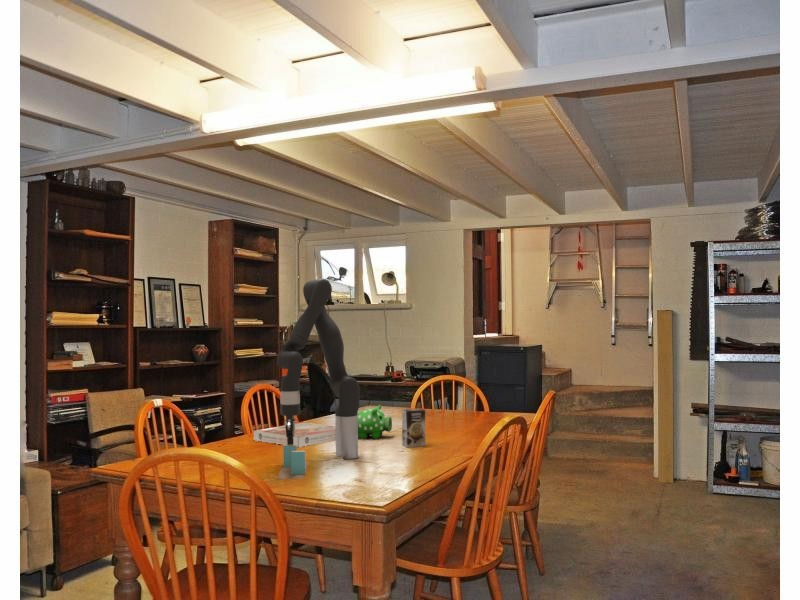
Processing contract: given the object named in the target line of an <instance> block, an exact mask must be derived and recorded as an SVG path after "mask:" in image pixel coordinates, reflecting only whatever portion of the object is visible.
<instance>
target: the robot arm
mask: <svg viewBox="0 0 800 600" xmlns="http://www.w3.org/2000/svg"><path fill="white" fill-rule="evenodd" d="M302 291H303V292H302V293H303V297H304V299H305V302H306V305H307V307H306V309H305V310H304V311H303V313H302V314H301V315H300V317H299V318H298V319H297V320H296V323H295V324H294V326H293V328H292V331H291V332H290V335H289V339H287V341H286V342H285V344H284V345H283V346H282V348H281V350H280V351H279V353H278V355H277V359H276V362H277V365H278V367H279V368H280V369H283V370H287V371H286V372H287V373H286V375H283V376H282V377H281V379H280V380H281V381H280V398H279V399H280V415H281V416H283V417H286V419H285V420H284V426H285V428H286V437H287V445H293V437H294V434H295V433H294V431H295V424H297V419H295V416H298V415H299V416H300V415H301V395H300V379H301V375H302V371H303V365H304V359H303V356H302V354H301V353H300V352H298V351H300V350H302V349H304V348H305V347H306V345H307V343H308V340H309V338H310V335H311V332H312V331H313V328H315V329H316V334H317V336H318V340H319V344H320V348H321V350H322V353H323V356H324V360H325V363H326V366H327V369H328V374H329V380H330V385H331V389H332V392H333V394H334V395H335V396H336V397H337V398H338V406H337V407H336V408H335V410H334V411H335V412H334V414H335V425H334V426H335V427H336V440H335V456H336V457H342V458H343V460H351V459H359V437H358V412H359V408H360V398H361V397H360V394H361V393H360V392H361V391H360V385H359V382H358V380H357V379H356V378H354V377H352V376H351V377H350V376H349V375H348V372H347V369H346V366H345V363H344V362H345V361H344V355H345V354H344V351H345V345H344V341H343V338H342V333H341V330H340V328H339V327H338V325H337V323H336V322H335V321H334V319H333V318H332V317H331V316H330V314H329V313H328V311H327V309H326V304H327V303H328V301H329V299H330V297H331V295H332V291H333V288H332V284H331V282H330V281H329V280H328V279H325V278H316V279H313V280H308V281H307V282H305V284H304V285H303V288H302Z"/></svg>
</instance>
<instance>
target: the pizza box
mask: <svg viewBox="0 0 800 600" xmlns="http://www.w3.org/2000/svg"><path fill="white" fill-rule="evenodd" d="M294 433H295V434H294V437H293V444H297V447H300V448H303V447H302V446H305V447H308V446H307V445H310V446H313V444H315V445H320V444H324V442H325V443H328V442H336V427H335V425H328V424H320V423H310V422H298V423H297V422H296V423H295V431H294ZM254 440H255V441H254ZM253 441H254V442H258V441H262V442H261V443H265V442H268V443H267V444H271V443H276V444H275V445H278V444H283V445H282V446H284V445H287V437H286V428H285V425H279V426H274V427H269V428H267V427H266V428H263V429H262V428H261V429H256V430H253ZM319 443H320V444H319Z"/></svg>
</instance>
